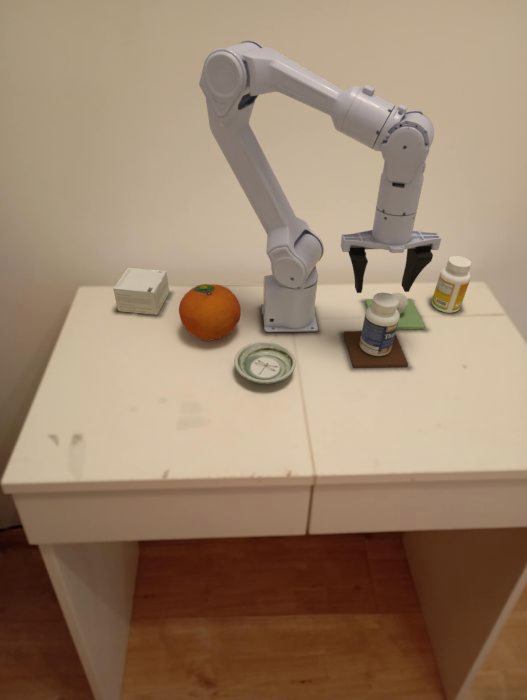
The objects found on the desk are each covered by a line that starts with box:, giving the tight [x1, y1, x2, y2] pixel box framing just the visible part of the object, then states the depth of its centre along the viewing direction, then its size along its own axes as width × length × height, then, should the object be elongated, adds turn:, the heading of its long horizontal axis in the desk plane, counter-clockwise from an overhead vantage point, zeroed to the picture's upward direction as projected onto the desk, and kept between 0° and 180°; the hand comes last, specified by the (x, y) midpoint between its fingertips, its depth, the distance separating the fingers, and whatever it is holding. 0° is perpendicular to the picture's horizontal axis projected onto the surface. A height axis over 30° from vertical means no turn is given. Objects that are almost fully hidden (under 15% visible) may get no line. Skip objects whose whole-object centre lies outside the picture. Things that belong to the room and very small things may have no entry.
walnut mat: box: [343, 330, 409, 369], centre depth 80 cm, size 9×9×1 cm
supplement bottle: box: [431, 255, 472, 313], centre depth 88 cm, size 5×5×10 cm
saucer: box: [234, 340, 297, 385], centre depth 75 cm, size 10×10×2 cm
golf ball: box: [391, 292, 408, 314], centre depth 87 cm, size 4×4×4 cm
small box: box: [112, 267, 170, 316], centre depth 88 cm, size 8×8×5 cm
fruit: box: [178, 283, 242, 341], centre depth 81 cm, size 11×10×8 cm
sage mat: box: [364, 298, 426, 331], centre depth 88 cm, size 9×9×1 cm
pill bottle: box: [360, 292, 400, 356], centre depth 77 cm, size 5×5×10 cm
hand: (381, 289), depth 76 cm, fingers open, 7 cm apart
